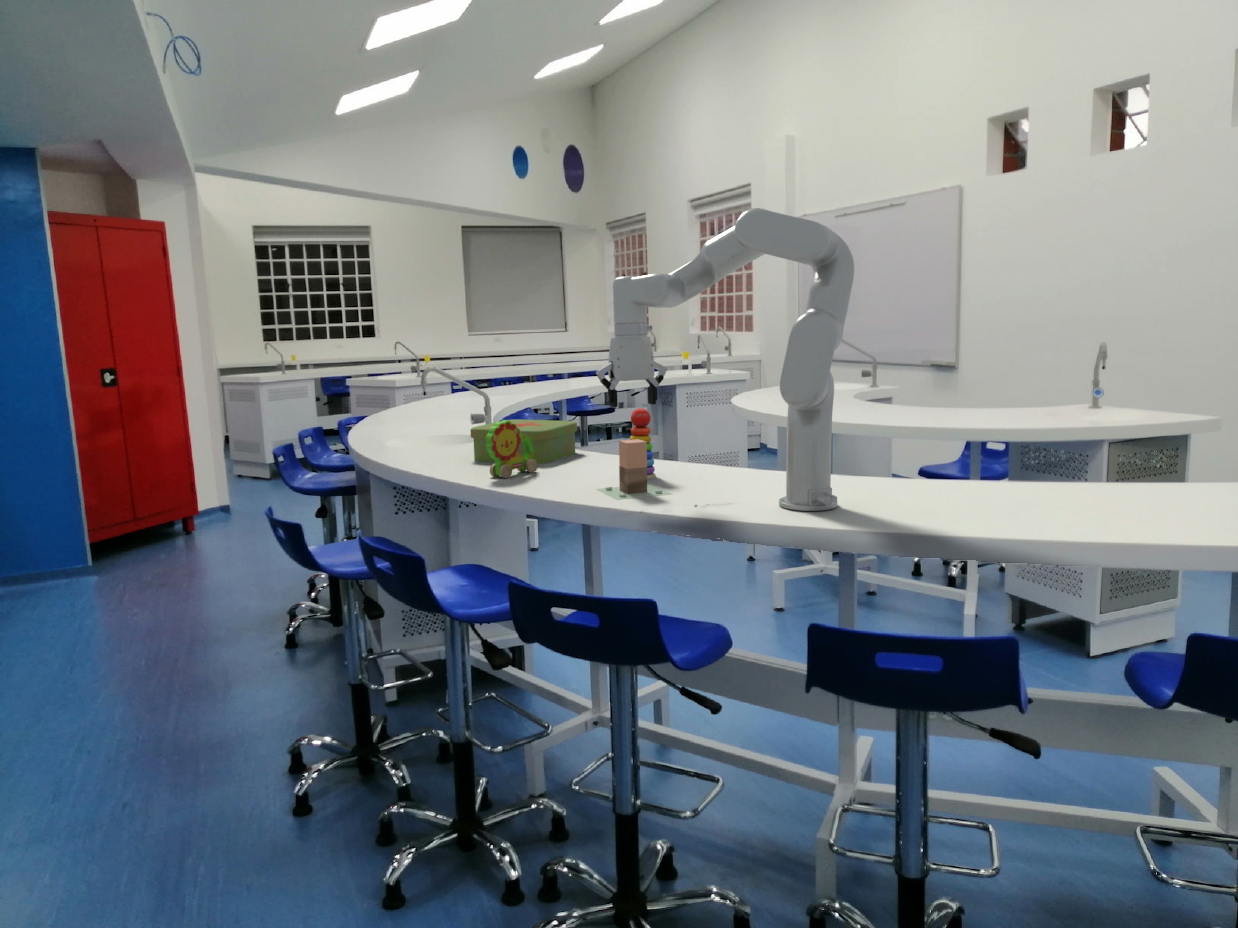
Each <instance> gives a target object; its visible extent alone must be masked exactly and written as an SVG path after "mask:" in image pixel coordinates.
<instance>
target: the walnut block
mask: <svg viewBox="0 0 1238 928" xmlns="http://www.w3.org/2000/svg"><path fill="white" fill-rule="evenodd" d="M618 467H619V468H618V470H619V471H618V472H619V473H618V474H619V476H618V477H619V487H620V491H622V492H624V493H626V494H635V493H645V492H647V484H648V479H647V467H644V468H632V469H626V468H624V467H621V466H620V465H618Z"/></svg>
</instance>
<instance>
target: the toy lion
mask: <svg viewBox="0 0 1238 928" xmlns="http://www.w3.org/2000/svg"><path fill="white" fill-rule="evenodd" d="M507 420H508V419H505V420H504V419H503V420H500V421H501V422H499V421H496V423H495V422H494V423H495V424H494V426H493V427H491V428H490V429H489V433H488V434H487V435H486V450H487V451H488V452H489V456H490V457H491V458H494V459H495V462H494V463H493V464H492V465H490V467H489V473H490V476H491V477H493V478H499V477H500V476H501V478H503V479H509V478H510V477H511V476H512V474H513V471H514V470H517V471H518V472H523V473H524V472H525V471H526V472H528V473H532V474H533V473H536V472H537V469H538V465H539V464H537V461H536V460H534V459H533V458H534V451H533V444H532V442H531V440H530V438H529V437H528V436H526V435H524V434H521V432H520V429H519V428H517V425H516V424H515V423H511V422H510V421H507ZM521 442H523V444H524V447H525V454H524V457H523V456H522V455H520V454H518V446H519V444H520V443H521Z"/></svg>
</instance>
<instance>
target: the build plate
mask: <svg viewBox="0 0 1238 928" xmlns="http://www.w3.org/2000/svg"><path fill="white" fill-rule="evenodd" d="M595 490H596V491H598V492H600V493H603V494H605V495H607V497H611V498H612V499H614V500H616V501H617V500H626V499H629V500H630V499H637V498H648V497H649V498H650V497H655V496H656V497H658V496H668V495H673V493H671V492H669V491H667V490H664V489H662V488H660V487H658V486H655V485H652V484H649V483H647V492H645V493H635V494H626V493H624V492H622V491H620V486H605V487H602V488H596V489H595Z"/></svg>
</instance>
